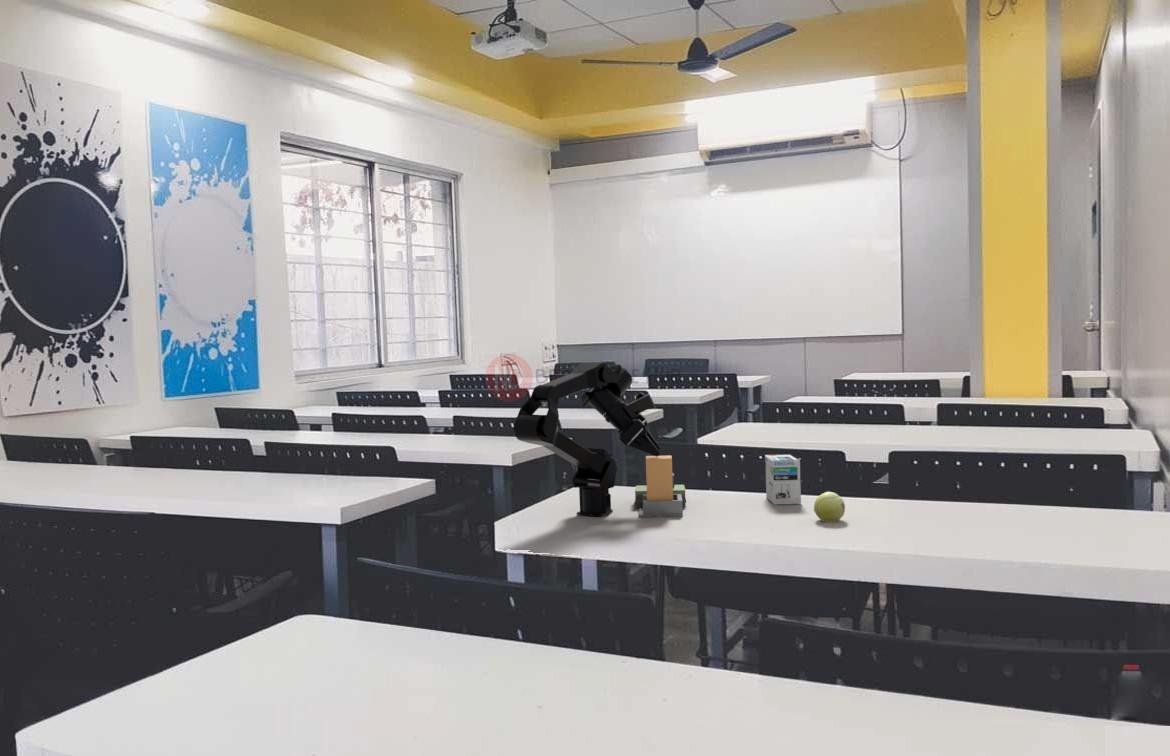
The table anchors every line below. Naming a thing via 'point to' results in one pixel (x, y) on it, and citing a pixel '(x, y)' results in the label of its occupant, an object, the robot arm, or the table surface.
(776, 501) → the light bulb box
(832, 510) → the tennis ball
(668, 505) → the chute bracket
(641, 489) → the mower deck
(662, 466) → the tan rectangular block
